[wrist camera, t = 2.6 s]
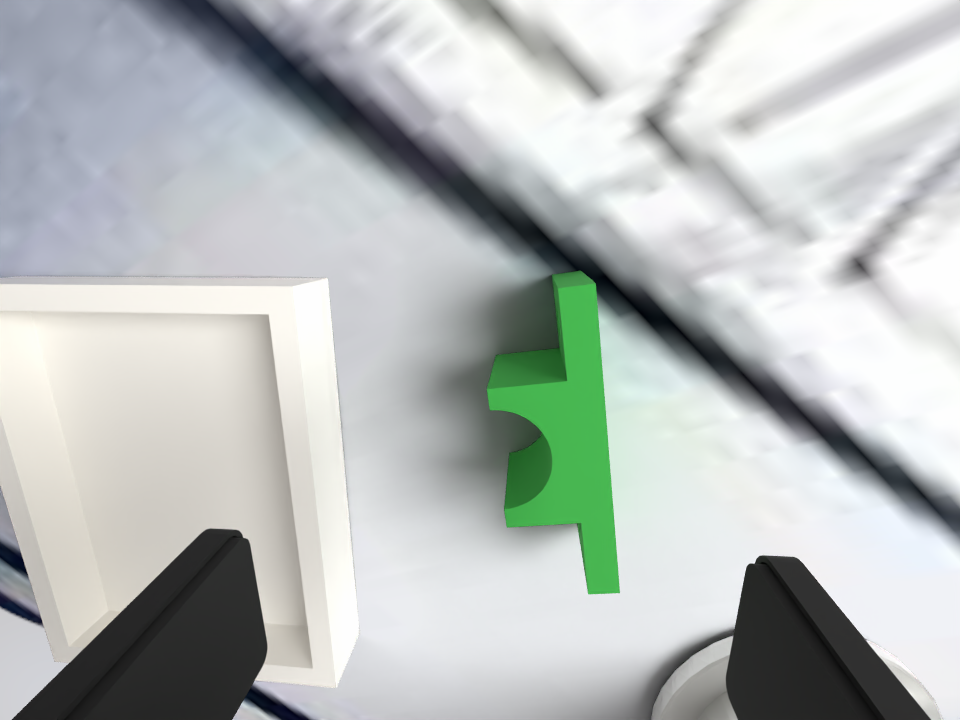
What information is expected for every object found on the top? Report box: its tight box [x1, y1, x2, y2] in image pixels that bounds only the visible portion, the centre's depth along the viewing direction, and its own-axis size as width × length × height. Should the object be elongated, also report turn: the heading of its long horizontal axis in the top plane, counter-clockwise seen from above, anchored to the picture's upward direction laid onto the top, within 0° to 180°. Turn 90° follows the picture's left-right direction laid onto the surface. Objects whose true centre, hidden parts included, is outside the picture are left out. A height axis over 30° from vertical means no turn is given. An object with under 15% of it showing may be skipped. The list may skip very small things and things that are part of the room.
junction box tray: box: [0, 276, 359, 688], centre depth 21 cm, size 14×18×3 cm
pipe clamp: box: [487, 271, 620, 594], centre depth 18 cm, size 11×4×5 cm, turn 8°
